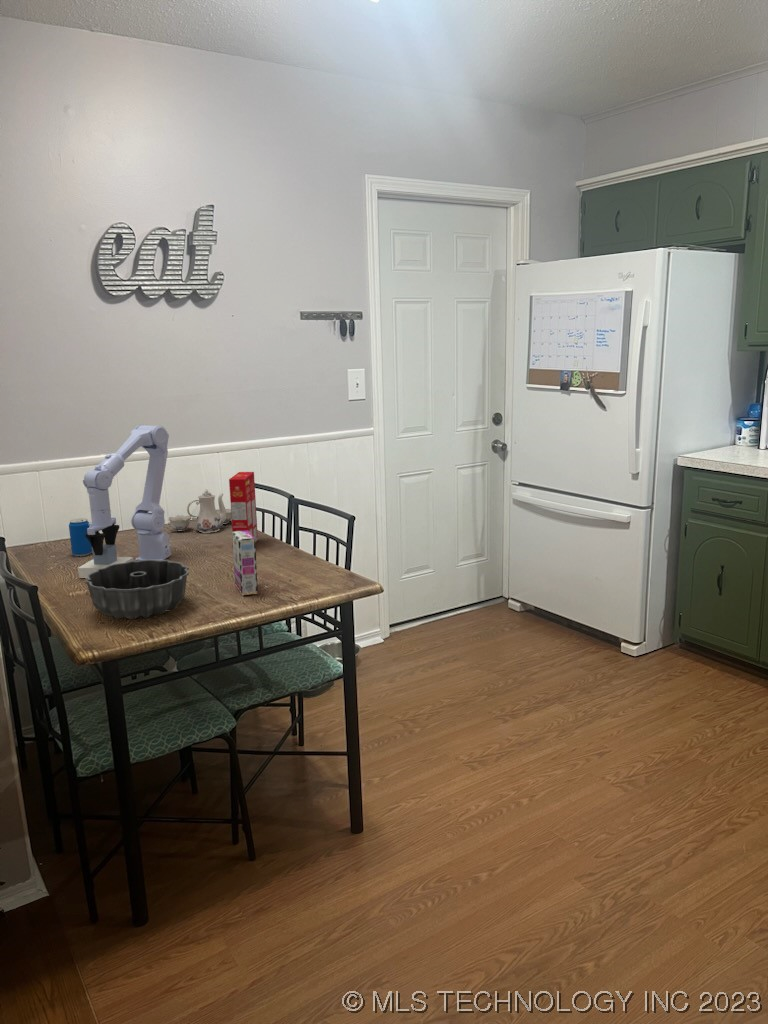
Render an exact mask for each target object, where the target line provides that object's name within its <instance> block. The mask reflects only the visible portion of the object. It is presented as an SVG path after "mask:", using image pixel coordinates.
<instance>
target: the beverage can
mask: <svg viewBox="0 0 768 1024" xmlns="http://www.w3.org/2000/svg"><path fill="white" fill-rule="evenodd" d="M89 523H90V522H89V521H88V519H87V518H73V519H71V520H69V524H68V530H69V538H70V539H69V540H70V549H71V554H72V555H73V556H74V557H78V556H80V557H86V555H87V556H90V555H91V553H93V550H92V549H93V548H92V546H91V544H90V542H89V541H88V539H87V538H86V537H85V534H86V533H87V528H89V527H90V526H89ZM89 554H90V555H89Z"/></svg>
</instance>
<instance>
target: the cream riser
mask: <svg viewBox="0 0 768 1024" xmlns="http://www.w3.org/2000/svg"><path fill="white" fill-rule="evenodd" d="M129 561H134V557H133V556H117V561H115V562H113V563H111V564H110V565H113V564H118V563H126V562H129ZM107 566H109V565H97V564H94V559H93V558H92V559H91V560H89V561H87V562H86V563H84V564H82V565H80V566H79V567H77V571H78V578H87V576H88V575H89V574H90V573H93V572H95V571H96V570H97V569H100V568H105V567H107Z"/></svg>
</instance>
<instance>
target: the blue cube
mask: <svg viewBox="0 0 768 1024" xmlns="http://www.w3.org/2000/svg"><path fill="white" fill-rule="evenodd" d="M92 556H93V557H92V559H94V564H97V565H110V564H111V563H113V562H115V561H117V557H118V556H117V547H116V544H115V545H106V544H103V555H95V553H94V551H93V548H92Z"/></svg>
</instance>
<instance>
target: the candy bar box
mask: <svg viewBox="0 0 768 1024" xmlns="http://www.w3.org/2000/svg"><path fill="white" fill-rule="evenodd" d="M231 534H232V549H233V550H232V551H233V552H232V553H233V569H234V573H233V574H234V585H235V584H236V585H237V587H238V588H239V590H240V591H241V593H246V592H252V591H258V590H259V589H258V571H257V551H256V550H257V548H256V546H257V545H256V544H257V543H255V538H254V537H253V536H252V534H251V533H250V532H249V531H248V530H247V531H236V532H232V531H231ZM237 587H236V588H237ZM239 590H238V591H239ZM258 592H259V591H258Z"/></svg>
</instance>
